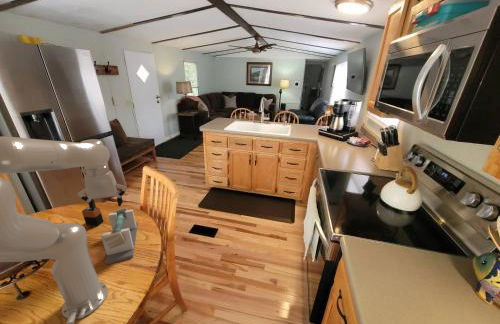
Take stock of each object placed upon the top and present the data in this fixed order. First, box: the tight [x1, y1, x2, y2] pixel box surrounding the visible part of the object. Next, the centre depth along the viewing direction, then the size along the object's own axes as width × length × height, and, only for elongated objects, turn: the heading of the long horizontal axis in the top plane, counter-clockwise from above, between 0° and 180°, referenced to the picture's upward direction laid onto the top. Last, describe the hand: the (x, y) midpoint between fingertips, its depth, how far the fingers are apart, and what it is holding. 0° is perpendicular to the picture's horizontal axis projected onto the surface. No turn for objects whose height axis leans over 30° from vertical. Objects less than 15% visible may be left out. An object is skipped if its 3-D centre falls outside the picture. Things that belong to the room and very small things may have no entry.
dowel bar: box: [104, 206, 129, 249], centre depth 94 cm, size 20×6×6 cm, turn 23°
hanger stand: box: [100, 208, 138, 265], centre depth 95 cm, size 24×10×12 cm, turn 23°
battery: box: [81, 206, 104, 227], centre depth 107 cm, size 4×7×10 cm, turn 84°
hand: (107, 206), depth 88 cm, fingers open, 9 cm apart
